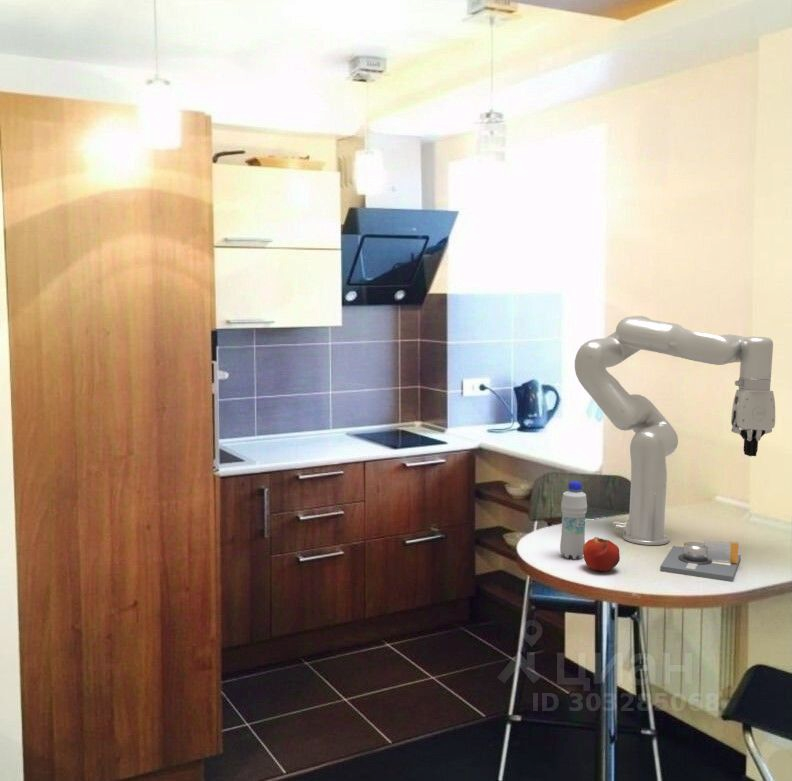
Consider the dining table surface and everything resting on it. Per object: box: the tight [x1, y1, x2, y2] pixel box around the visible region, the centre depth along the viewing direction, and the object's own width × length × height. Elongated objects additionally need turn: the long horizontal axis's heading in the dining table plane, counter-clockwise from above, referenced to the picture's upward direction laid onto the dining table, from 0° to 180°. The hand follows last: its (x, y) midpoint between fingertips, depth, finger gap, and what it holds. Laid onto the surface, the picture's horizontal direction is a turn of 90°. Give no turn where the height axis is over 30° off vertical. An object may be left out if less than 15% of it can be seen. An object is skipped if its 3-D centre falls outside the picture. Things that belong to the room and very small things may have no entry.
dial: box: [683, 539, 740, 563], centre depth 232 cm, size 13×6×5 cm, turn 74°
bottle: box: [559, 480, 588, 560], centre depth 237 cm, size 7×7×20 cm
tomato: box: [583, 536, 621, 572], centre depth 228 cm, size 9×9×8 cm
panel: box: [659, 545, 742, 582], centre depth 233 cm, size 17×20×2 cm
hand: (750, 455), depth 238 cm, fingers closed
